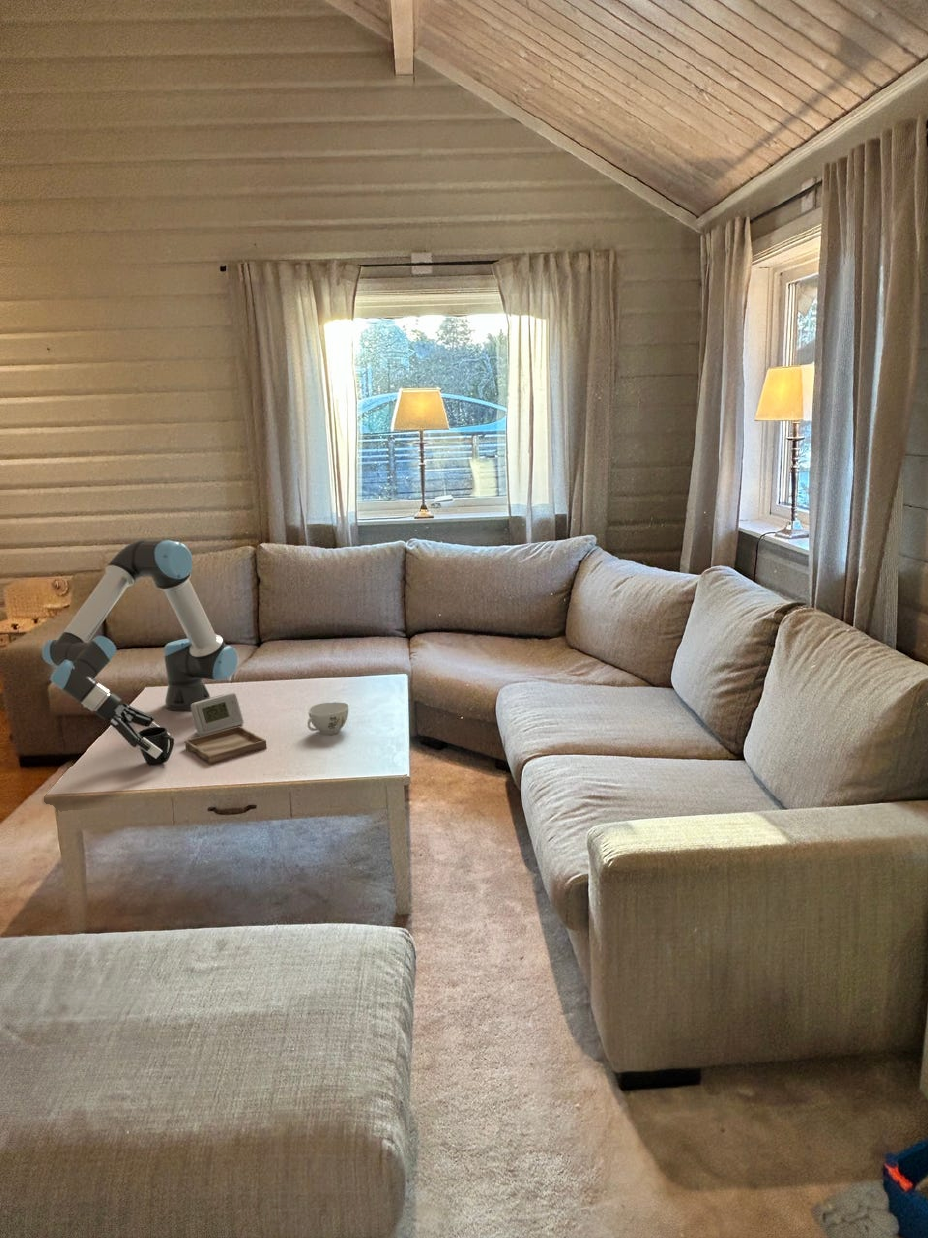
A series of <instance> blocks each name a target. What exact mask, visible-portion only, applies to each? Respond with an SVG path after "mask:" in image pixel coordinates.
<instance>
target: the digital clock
mask: <svg viewBox="0 0 928 1238" xmlns="http://www.w3.org/2000/svg"><path fill="white" fill-rule="evenodd" d="M190 707H191V710H190V711H191V714H192V718H193V723H194V726H195V730H196V731H197V735H198V737H201V736H205V735H209V734H212V733H216V732H220V731H223V730H227V729H231V728H234V727H238V726H242V725H243V724H244V721H245V720H244V717H243V713H242V710H241V706H240V703H239V700H238V696H237V693H236V692H229V693H226V694H219V695H217V696H216V695H215V696H213V697H212V696H211V697H210V698H208V699H205V700H201V701H199V702H195V703H192V704H191V706H190Z"/></svg>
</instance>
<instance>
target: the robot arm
mask: <svg viewBox="0 0 928 1238" xmlns="http://www.w3.org/2000/svg"><path fill="white" fill-rule="evenodd" d="M190 551H191V550H190V549H189V548H188V547H187V546H186V545H185V544H183V543H181V542H179V541H173V540H169V539H166V540H144V539H141V540H137V541H133V542H131V543H129V544H128V545H126V546H125V547H123V548H122V549H121V550H120V551H119V552H118V553H117V554H116V555H115V556H114V557H113V558H112V559H111V560H110V562H109V563H108V564H107V566H106V567H105V568H104V570H105V574H104V575H103V577H102V578H101V579H100V580H99V582H98V584H97V585H95V588H94V589H93V591H92V592H91V593H90V594H89V595H88V598H87V599H85V601H84V603H83V604H82V605H81V607H80V609H79V610H78V611H77V612H76V614H75V615H74V616H73V618H72V619H71V621H70V622H69V623H68V625H67V626H66V628H65V629H64V630H63V632H62V633H61V635H60V636H59V637H58V639H53V640H48V641H47V642H45V644H44V645H43V647H42V651H41V656H42V659H43V661H45V663H47V664H49V665H51V666H56V667H57V668H56V669H55V670H54V671H53V672H52V674H51V675H50V678H49V680H50V682H51V683H53V684H54V685H55V686H56V687H57V688H59V689H60V690H61V691H63V692H65V694H67V695H69V696H71V697H72V698H73V700H74V699H75V700H76V701H78V703H80V704H82V705H83V708H87V709H88V710H90V711H91V712H94V711H95V712H94V713H95V715H96V716H98V717H99V718H100V719H102V720H104V721H107V719H108V718H110V719H111V720H110V721H109V722H108V724H109V725H110V726H112V727H113V728H114V729H115V730H116V731H117V732H118V733H119V734H120V736H122V737H123V738H124V740H125V741H126V742H127V743H128V744H129V745H130V746H131V747H132V748H136V747H139V749H140V748H142V749H143V750H145V751H146V752H147V753H149V754H150V755H151V756H153V757H154V758H157V757H158V756H159V755H160V754H161V753H162V750H161V749H159V748H158V747H157V746H155V745H154V744H152V743H151V742H150V741H148V740H147V739H146V738H143V739H142V737H141V736H140V735H139V732H138V731H137V729H136V728H135V727H134V725H133V724H136V725H139V726H143V727H146V729H147V728H152V727H161V726H160V725H158V724H157V723H155V722H154V720H155V718H154V717H153V716H151V715H149V714H148V713H145V712H143V711H142V710H140V709H138V708H135V707H133V706H131V705H130V704H128V703H127V702H125V701H124V702H123V703H122V701H123V698H121V697H119V696H118V695H117V694H116V693H114V692H111V690H110V689H109V688H108V687H106V686H105V685H103V684H102V683H101V682H99V681H97V680H96V679H95V678H96V677H97V676H98V674H99V673H100V672H101V671H102V670H103V669H104V668H105V667H106V666H107V665H108V664H109V663H110V662H111V660H112V659H113V658H114V656H115V655H116V653H117V647H116V645H115V644H114V642H113V641H112V640H111V639H109V638H108V637H106V636H103V635H97V636H95V637H94V638H93V636H94V635H95V634H96V632H97V631H98V630H99V628H100V627H101V625H102V623H103V622H104V621H105V619H106V618H107V616H108V615H109V614H110V612H111V611H112V609H113V608H114V606H115V605H116V604H117V602H118V601H119V599H120V598H121V596H122V595H123V594H124V592H125V591H126V590H127V588H129V587H132V586H133V585H134V584H135V582H136V581H138V579H141V578H146V577H147V578H151V579H152V581H153V582H154V584H155V587H156V588H157V589H158V590H162V591H164V594H165V596H166V598H167V599H168V602H169V603H170V606H171V607H172V609H173V612H174V614H175V616H176V617H177V619H178V620H177V621H179V623H180V625H181V627H182V630H183V632H184V634H185V636H186V638H182V639H178V640H174V641H171V642H169V643H167V644H166V645H165V646H164V649H163V652H164V656H163V658H164V663H165V669H166V676H167V682H168V683H167V684H168V686H167V692H166V696H165V709H167V710H169V711H170V710H171V711H179V712H180V711H182V712H183V711H191V707H190V706H191V704H192V703H195V702H199V701H201V700H205V699H208V698H211V694H210V693H209V691H208V687H207V686H206V684H205V682H204V680H203V679H205V680H206V679H207V680H215V681H224V680H228V679H230V678H231V677H232V676H233V675H234V673H235V671H236V669H237V667H238V666H237V665H238V662H239V655H238V652H237V650H236V648H234V647H232V646H230V645H226V643H225V641H224V638H223V637H222V636H221V635H219V634H216V633H215V631H214V628H213V627H212V624H211V623H210V622H211V621H210V620H209V618H208V616H207V613H206V612H205V610H204V608H203V605H202V604H201V602H200V600H199V598H198V595H197V593H196V590H195V589H194V586H193V585H192V582H191V581H190V578H191V576H192V571H193V564H192V562H193V555H192V553H191V552H190ZM92 638H93V639H92ZM121 703H122V704H121ZM132 723H133V724H132ZM167 733H168V736H171V734H170V733H169V732H168V731H167Z"/></svg>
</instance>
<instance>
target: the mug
mask: <svg viewBox="0 0 928 1238" xmlns="http://www.w3.org/2000/svg"><path fill="white" fill-rule="evenodd" d="M167 732H168V729H167V728H166V727H162V726H160V727H152V728H147V727H146V728H145V729H142V730H139V732H138V733H139V735H140V736H141V737H142V739H143V738H146V739H147V740H148V741H150V742H151V743H152V744H154V745H155V746H157V747H158V748H159V749H161V750H162V753H161V754H160V755H159V756H158V757H157V758H154V757H153V756H151V755H150V754H149V753H147V752H146V751H145V750H143V749H142V748H140V747H139V749H140V752H141V754H142V757H143V759H144V761H145V764H146V766H149V767H150V766H151V767H155V766H160V765H162V764H165V763H167V762H168V761H169V759H170V756H171V754H172V752H173V750H174V747H175V746H174V745H175V739H174V737H173V736H172V735H170V736H168V733H169V732H168V733H167Z"/></svg>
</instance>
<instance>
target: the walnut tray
mask: <svg viewBox="0 0 928 1238" xmlns="http://www.w3.org/2000/svg"><path fill="white" fill-rule="evenodd" d="M184 745H185V750H188V752H190V753H192V754H193V755H194V756H196V757H197V758H199V759H201V760H202V761H204V762H205V763H207V764H208V765H210V766H211V765H214V764H218V763H221V762H224V761H227V760H231V759H234V758H238V757H242V756H246V755H248V754H252V753H255V752H258V751H259V752H260V751H261V750H266V749H267V740H266V739H264V738H262V737H261V736H259V735H257V734H255V733H253V732H251V731H249V730H248V729H245V728H244V727H243V726H242V725H239V726H235V727H234V728H231V729H227V730H223V731H220V732H216V733H212V734H209V735H205V736H198V737H194V738H191V739H187V740H185V741H184Z"/></svg>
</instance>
